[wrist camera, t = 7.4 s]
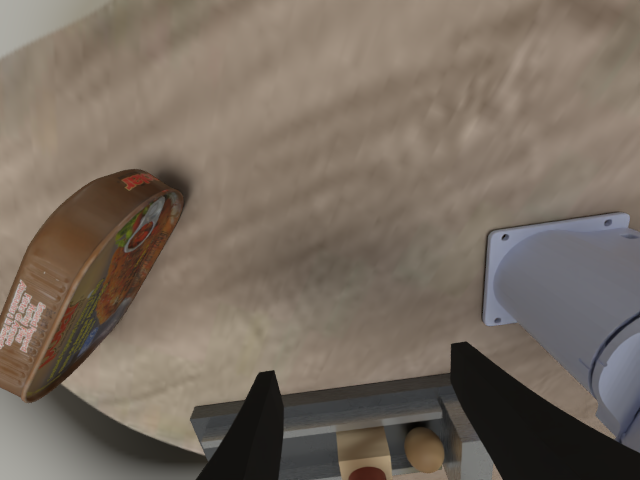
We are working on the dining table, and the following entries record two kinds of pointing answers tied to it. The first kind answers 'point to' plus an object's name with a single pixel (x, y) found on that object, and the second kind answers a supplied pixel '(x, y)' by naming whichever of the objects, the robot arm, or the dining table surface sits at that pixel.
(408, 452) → the nut
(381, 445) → the press slider
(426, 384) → the base
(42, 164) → the dining table surface
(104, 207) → the tin
